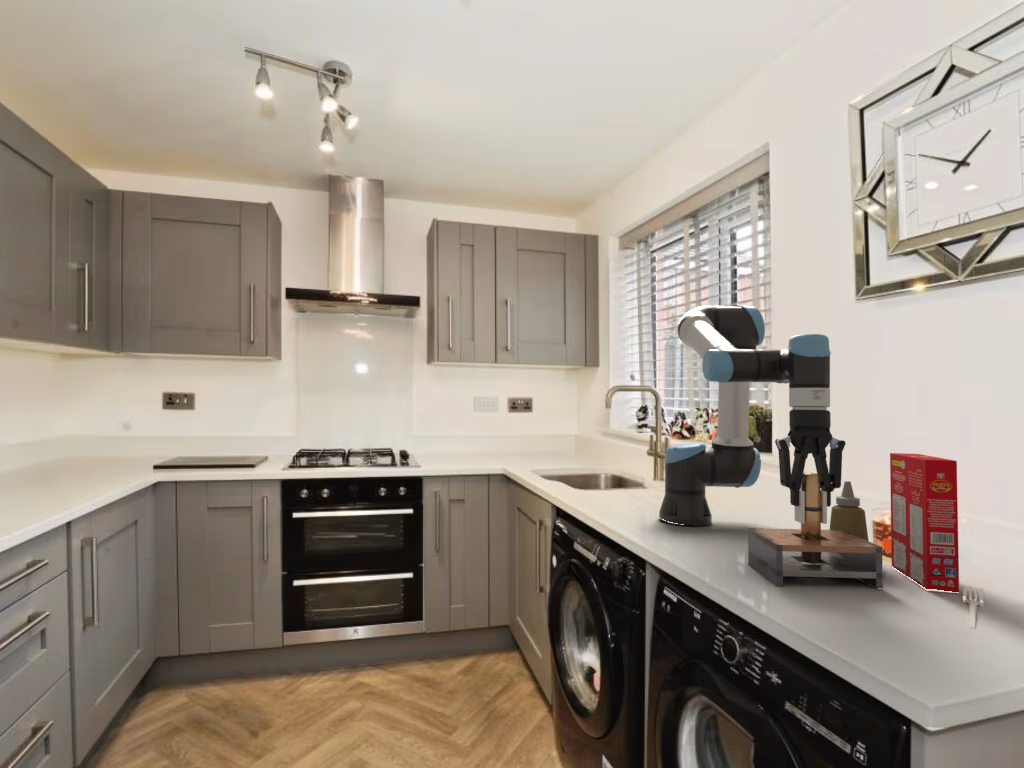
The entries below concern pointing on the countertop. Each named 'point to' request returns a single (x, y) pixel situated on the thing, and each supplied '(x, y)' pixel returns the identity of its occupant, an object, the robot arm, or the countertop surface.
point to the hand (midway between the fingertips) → (810, 521)
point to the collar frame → (839, 551)
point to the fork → (973, 605)
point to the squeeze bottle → (849, 514)
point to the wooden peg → (811, 515)
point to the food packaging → (925, 519)
